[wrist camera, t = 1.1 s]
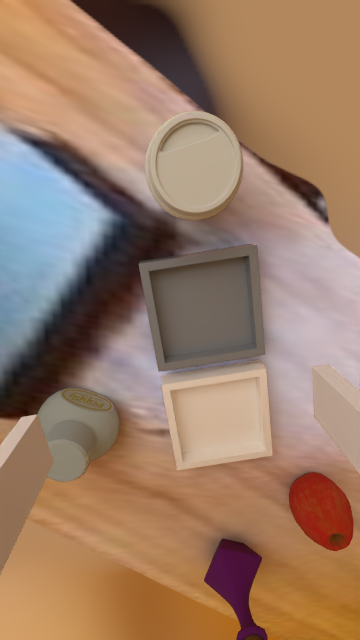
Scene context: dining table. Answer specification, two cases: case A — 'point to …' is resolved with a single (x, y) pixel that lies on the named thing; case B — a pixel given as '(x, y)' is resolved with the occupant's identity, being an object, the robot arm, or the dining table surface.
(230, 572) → the perfume bottle
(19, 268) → the dining table surface
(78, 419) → the air freshener
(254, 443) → the beige square dish
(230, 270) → the grey square tray
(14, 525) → the robot arm
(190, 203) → the coffee cup
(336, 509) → the apple
